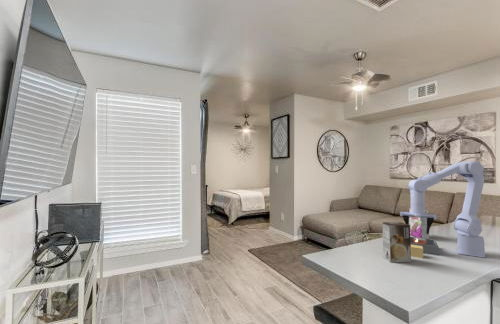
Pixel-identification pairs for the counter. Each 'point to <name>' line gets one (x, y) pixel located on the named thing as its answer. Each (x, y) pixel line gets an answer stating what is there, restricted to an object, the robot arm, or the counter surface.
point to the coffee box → (396, 242)
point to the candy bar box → (418, 226)
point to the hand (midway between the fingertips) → (417, 232)
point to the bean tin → (420, 240)
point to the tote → (428, 246)
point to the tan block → (416, 251)
